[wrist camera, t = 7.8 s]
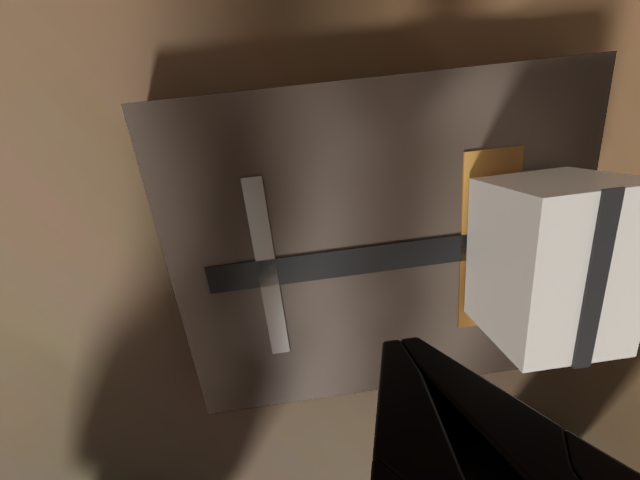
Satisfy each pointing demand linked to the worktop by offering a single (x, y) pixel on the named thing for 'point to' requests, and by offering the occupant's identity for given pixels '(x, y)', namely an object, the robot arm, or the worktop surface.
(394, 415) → the robot arm
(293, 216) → the fader console
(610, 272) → the fader knob
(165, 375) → the worktop surface
